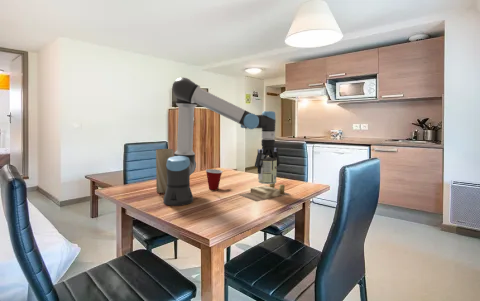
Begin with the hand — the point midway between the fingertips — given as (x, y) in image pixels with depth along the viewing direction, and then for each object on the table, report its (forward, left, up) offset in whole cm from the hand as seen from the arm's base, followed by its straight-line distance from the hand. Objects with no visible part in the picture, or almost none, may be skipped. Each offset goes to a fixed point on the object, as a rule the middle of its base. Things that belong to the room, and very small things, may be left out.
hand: (267, 178), depth 154 cm
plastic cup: (-16, +32, -11) cm, 37 cm away
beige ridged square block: (-1, 0, -9) cm, 9 cm away
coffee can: (0, 0, -3) cm, 3 cm away
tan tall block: (-43, +45, -11) cm, 63 cm away
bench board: (-2, 0, -11) cm, 11 cm away
